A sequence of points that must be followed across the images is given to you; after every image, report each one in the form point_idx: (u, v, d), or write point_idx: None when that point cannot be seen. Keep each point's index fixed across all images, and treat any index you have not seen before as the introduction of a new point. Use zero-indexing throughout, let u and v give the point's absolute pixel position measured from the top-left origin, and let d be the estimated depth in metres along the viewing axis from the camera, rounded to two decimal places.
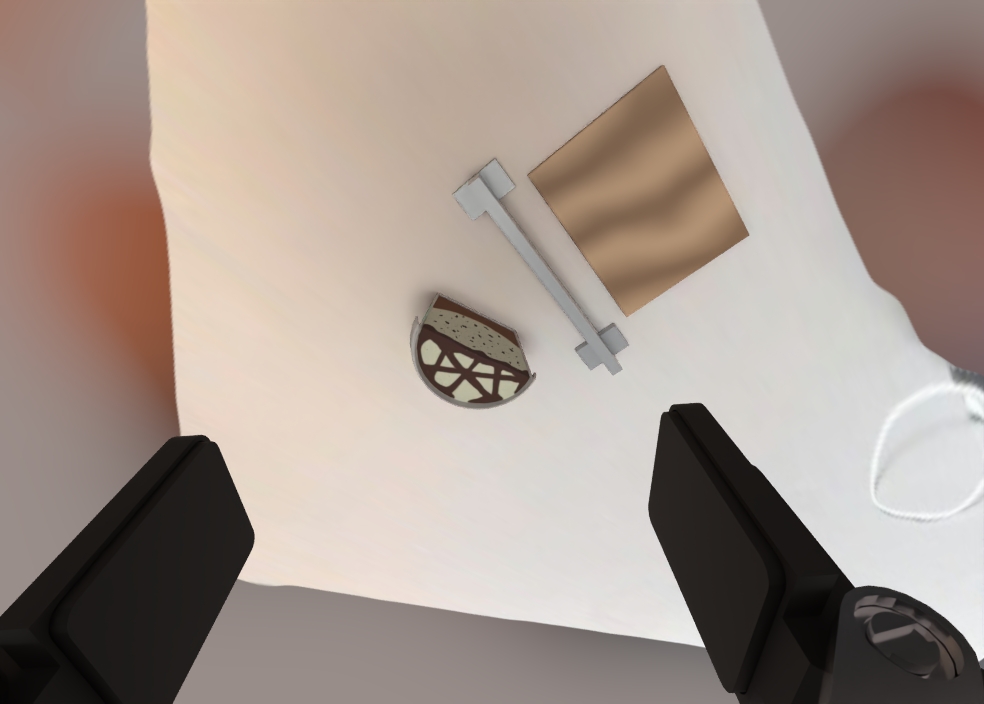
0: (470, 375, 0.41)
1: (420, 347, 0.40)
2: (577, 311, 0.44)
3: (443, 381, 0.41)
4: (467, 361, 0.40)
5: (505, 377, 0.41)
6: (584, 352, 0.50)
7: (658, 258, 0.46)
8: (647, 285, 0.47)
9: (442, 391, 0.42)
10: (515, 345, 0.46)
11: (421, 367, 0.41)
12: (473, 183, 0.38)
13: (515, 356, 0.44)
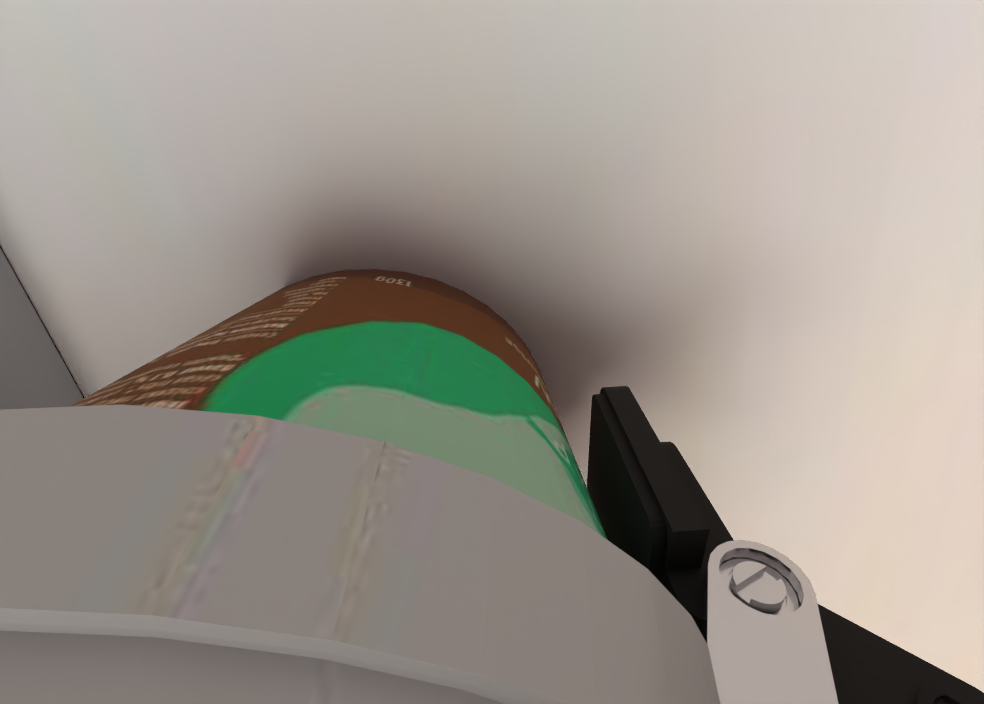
0: None
1: None
2: None
3: None
4: None
5: None
6: None
7: None
8: None
9: None
10: None
11: None
12: None
13: None
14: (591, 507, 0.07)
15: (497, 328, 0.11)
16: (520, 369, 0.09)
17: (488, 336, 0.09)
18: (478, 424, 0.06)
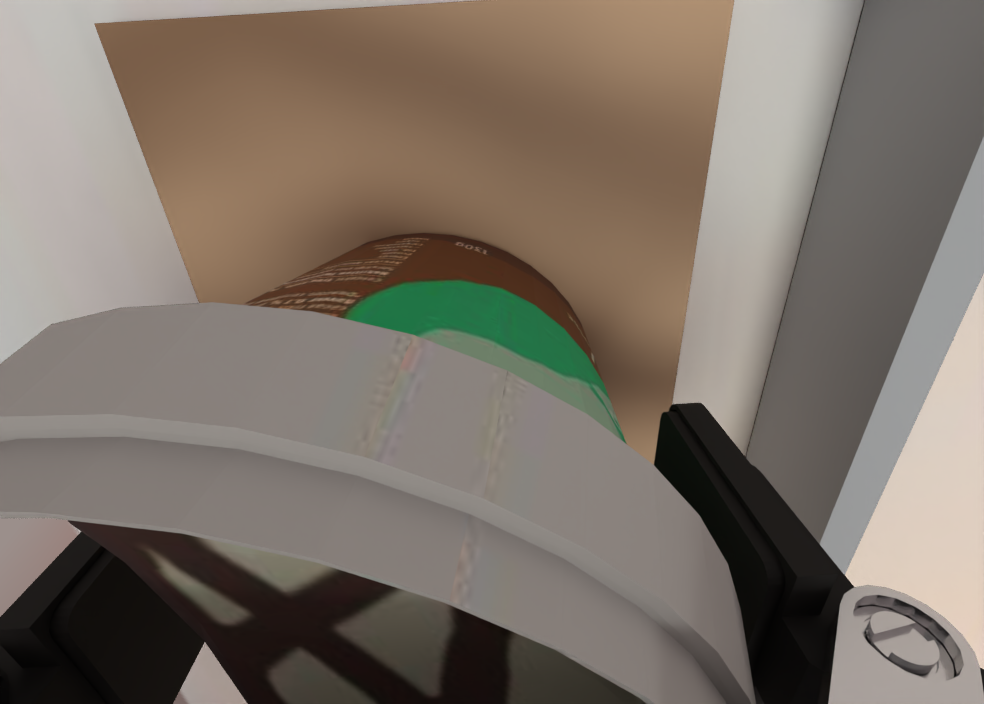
0: None
1: None
2: (938, 264, 0.09)
3: None
4: None
5: (232, 580, 0.05)
6: None
7: (484, 174, 0.12)
8: (574, 86, 0.11)
9: None
10: None
11: None
12: None
13: None
14: None
15: (560, 304, 0.11)
16: (581, 343, 0.10)
17: (555, 309, 0.10)
18: (554, 380, 0.07)
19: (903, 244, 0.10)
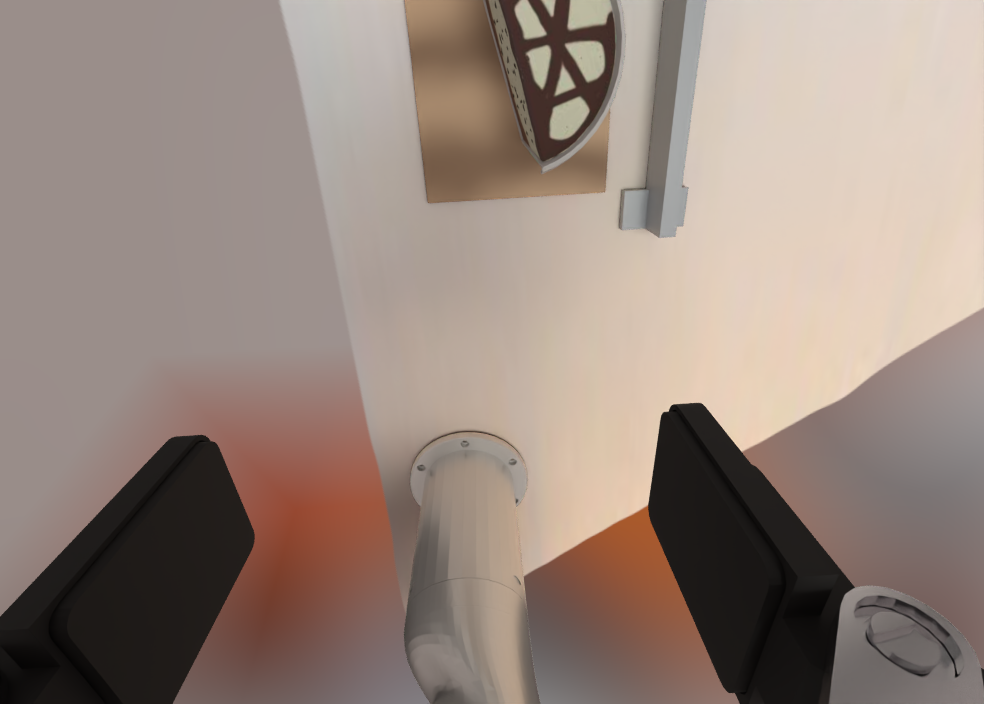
0: (555, 27, 0.23)
1: (570, 137, 0.25)
2: None
3: (595, 57, 0.24)
4: (537, 58, 0.24)
5: None
6: None
7: None
8: None
9: (613, 41, 0.23)
10: None
11: (597, 109, 0.25)
12: (668, 235, 0.34)
13: None
14: None
15: None
16: None
17: None
18: None
19: None
